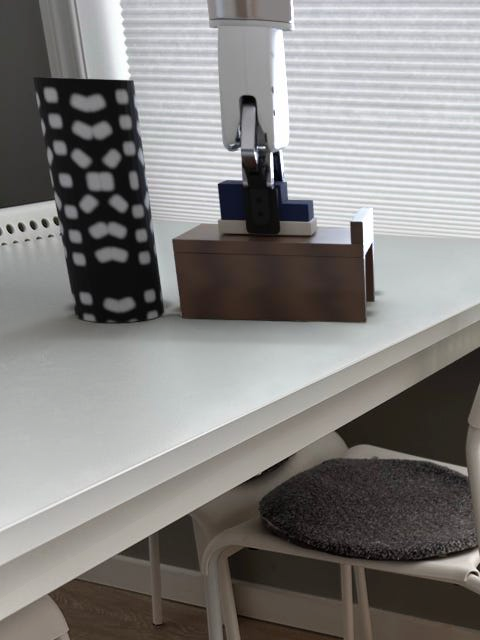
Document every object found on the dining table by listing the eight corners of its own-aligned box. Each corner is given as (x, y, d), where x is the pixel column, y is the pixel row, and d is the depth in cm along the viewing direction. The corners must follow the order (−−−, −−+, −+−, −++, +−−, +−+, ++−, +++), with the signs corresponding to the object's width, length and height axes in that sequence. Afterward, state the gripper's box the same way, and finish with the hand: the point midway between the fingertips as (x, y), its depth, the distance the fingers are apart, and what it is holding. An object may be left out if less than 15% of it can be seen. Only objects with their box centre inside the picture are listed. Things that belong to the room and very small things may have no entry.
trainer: (218, 233, 92) (213, 183, 90) (228, 227, 96) (223, 179, 94) (311, 235, 93) (308, 186, 90) (317, 229, 96) (314, 182, 94)
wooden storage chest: (181, 318, 93) (168, 215, 88) (209, 295, 103) (199, 202, 98) (365, 322, 93) (362, 221, 89) (375, 299, 104) (372, 207, 99)
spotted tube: (182, 311, 95) (153, 81, 85) (123, 326, 89) (84, 79, 79) (118, 302, 98) (83, 78, 88) (56, 316, 92) (11, 76, 82)
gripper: (228, 15, 92) (246, 218, 102) (185, 1, 78) (211, 240, 87) (305, 17, 93) (316, 220, 102) (277, 4, 78) (293, 243, 87)
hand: (268, 227), depth 94 cm, fingers closed on trainer, 4 cm apart
